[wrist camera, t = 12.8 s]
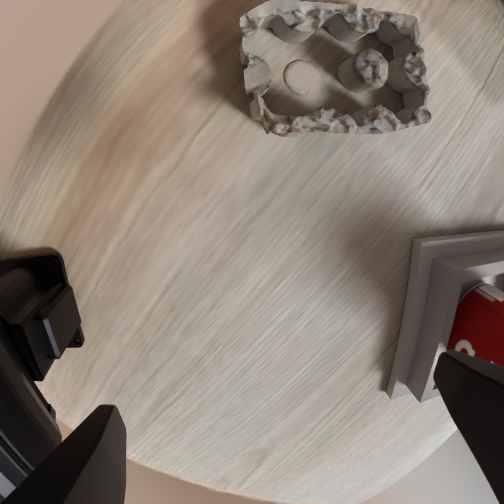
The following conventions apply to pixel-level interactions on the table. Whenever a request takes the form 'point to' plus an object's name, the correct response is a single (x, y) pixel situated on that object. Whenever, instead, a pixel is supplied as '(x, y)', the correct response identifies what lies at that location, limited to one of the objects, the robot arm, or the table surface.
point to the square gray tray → (439, 302)
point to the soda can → (480, 324)
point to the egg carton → (349, 72)
